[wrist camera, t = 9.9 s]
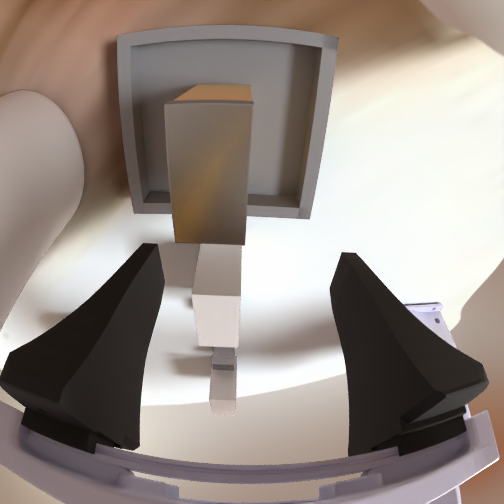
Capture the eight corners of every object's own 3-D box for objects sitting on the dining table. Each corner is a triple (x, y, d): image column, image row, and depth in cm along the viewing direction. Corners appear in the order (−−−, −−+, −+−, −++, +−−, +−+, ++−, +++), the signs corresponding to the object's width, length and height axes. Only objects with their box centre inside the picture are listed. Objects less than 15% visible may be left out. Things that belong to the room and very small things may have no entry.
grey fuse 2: (236, 355, 33) (236, 400, 29) (236, 376, 37) (235, 415, 32) (212, 354, 33) (209, 399, 29) (214, 375, 37) (212, 414, 32)
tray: (328, 38, 12) (338, 37, 11) (304, 203, 20) (309, 219, 18) (130, 36, 12) (117, 35, 10) (142, 198, 19) (133, 213, 18)
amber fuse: (251, 84, 14) (254, 104, 9) (245, 177, 18) (244, 245, 13) (197, 83, 14) (164, 104, 9) (197, 176, 18) (175, 242, 12)
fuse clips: (235, 298, 26) (235, 319, 24) (234, 352, 33) (233, 370, 31) (209, 297, 26) (207, 318, 24) (214, 351, 32) (212, 369, 30)
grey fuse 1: (241, 236, 22) (240, 296, 17) (239, 290, 26) (238, 347, 21) (202, 235, 22) (191, 294, 17) (206, 289, 25) (199, 345, 21)
